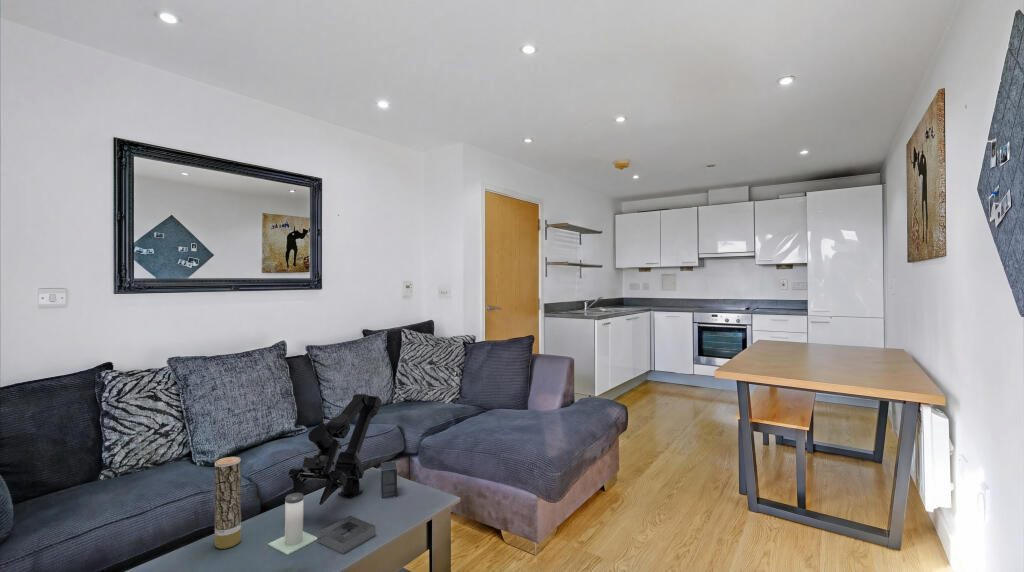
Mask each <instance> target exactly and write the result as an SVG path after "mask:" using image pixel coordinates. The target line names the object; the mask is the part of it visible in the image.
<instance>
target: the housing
mask: <svg viewBox="0 0 1024 572" xmlns="http://www.w3.org/2000/svg"><path fill="white" fill-rule="evenodd" d="M376 529H377V528H376V524H372V523H369V522H367V521H364V520H362V519H360V518H358V517H354V516H352V515H349V516H347V517H344V518H342V519H341V520H339V521H337V522H335V523H333V524H331V525H329V526H327V527H325V528H323V529H322V528H321V529H320V530H319V531H317V533H316V534H317V535H316V537H317V540H316V541H317V543H319V544H321V545H323V546H325V547H328V548H329V549H331V550H334V551H335V552H338V553H339V554H342V555H344V554H345V553H347V552H350V551H351V550H353V549H354V548H356V547H357V546H360V545H362V544H363V543H365V542H367V541H368V540H370V539H372V538H373V537H375V536H376V535H377V533H376ZM347 532H348V533H349V532H350V533H349V534H347V535H344V534H346V533H347Z"/></svg>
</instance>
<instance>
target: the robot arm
mask: <svg viewBox="0 0 1024 572" xmlns="http://www.w3.org/2000/svg"><path fill="white" fill-rule="evenodd" d="M382 403H383V402H382V399H381V398H380V396H378V395H368V394H366V393H355V394H353V396H352V399H351V400H350V402H349V403H348V404H347V405H346V407H345V408H344V409H343V410H342V411H341V413H340V414H338V415H337V416H334V417H332V418H331V419H329V421H328V422H327V423H326V424H325V423H318V425H317V426H316V427H313V428H312V429H311V431H309V433H308V436H307V437H308V440H309V442H310V443H311V444H312V445H313V446H314V447H315V448H316V449H317V450H318V452H317V454H314V455H313V457H309V456H308V457H307V456H306V457H305V456H304V458H303V462H302V466H301V467H302V468H301V467H291V468H289V470H288V473H287V474H286V476H287V477H288V478H289V479H290V480H291V481H292V483H293V492H292V493H302V491H303V490H304V488H305V486H306V483H305V482H307V480H319V481H320V480H322V481H325V486H324V490H323V491H322V494H321V497H320V498H319V499H320V500H319V506H322V505H323V504H324V503H325V502H326V501H327V500H328V499H329V498H330V497H331V496H332V495H333V494H334V492H336V491H337V490H338V489H340V491H339V492H337V495H338V496H341V497H344V498H346V499H351V498H353V497H355V496H357V495H359V494H362V493H363V490H362V489H360V487H361V486H360V479H363V476H364V473H365V468H364V467H363V466H362V465H361V463H362V461H361V457H360V452H361V449H362V446H363V444H364V440H365V438H366V436H367V435H366V434H367V431H368V430H369V426H370V424H371V421H372V418H374V417H375V416H376V415H378V413H379V410H380V408H381V407H382ZM357 415H358V417H357V420H356V423H355V426H354V428H353V430H352V434H351V437H350V439H349V442H348V443H347V444H348V445H347V447H346V449H345V450H344V451H340V452H339V453H338V457H337V459H336V461H334V460H335V458H336V455H337V452H338V450H341V449H342V444H341V441H340V440H337V439H346V437H347V436H348V434H349V432H350V430H351V423H352V422H353V420H355V418H356V416H357ZM332 467H334V470H331V468H332ZM304 468H306V470H307V471H309V472H306V471H305V470H304Z"/></svg>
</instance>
